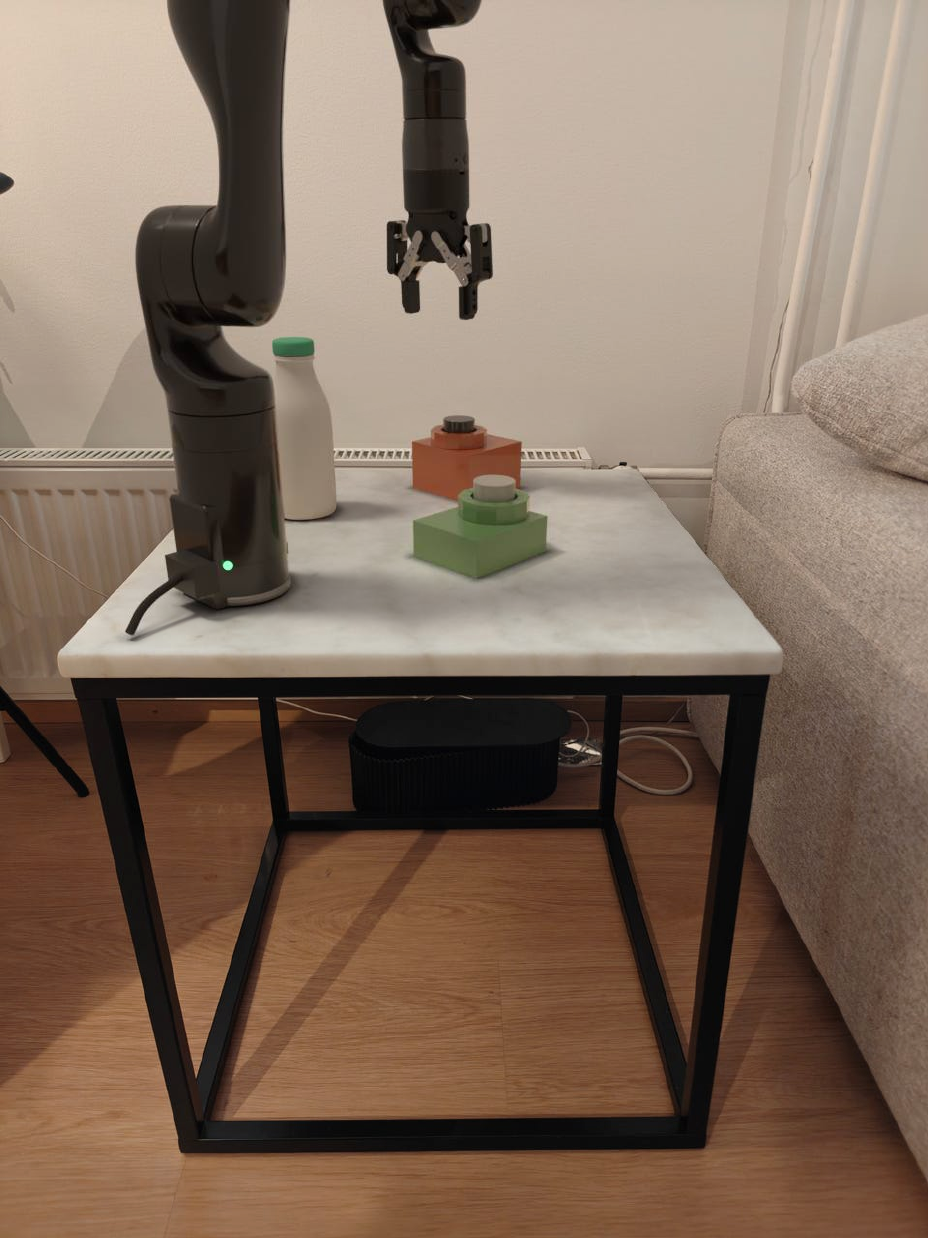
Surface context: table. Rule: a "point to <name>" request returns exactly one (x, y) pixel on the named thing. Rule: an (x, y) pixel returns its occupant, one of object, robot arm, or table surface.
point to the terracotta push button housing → (462, 460)
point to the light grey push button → (494, 488)
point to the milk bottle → (303, 432)
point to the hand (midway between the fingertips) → (439, 315)
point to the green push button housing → (481, 535)
